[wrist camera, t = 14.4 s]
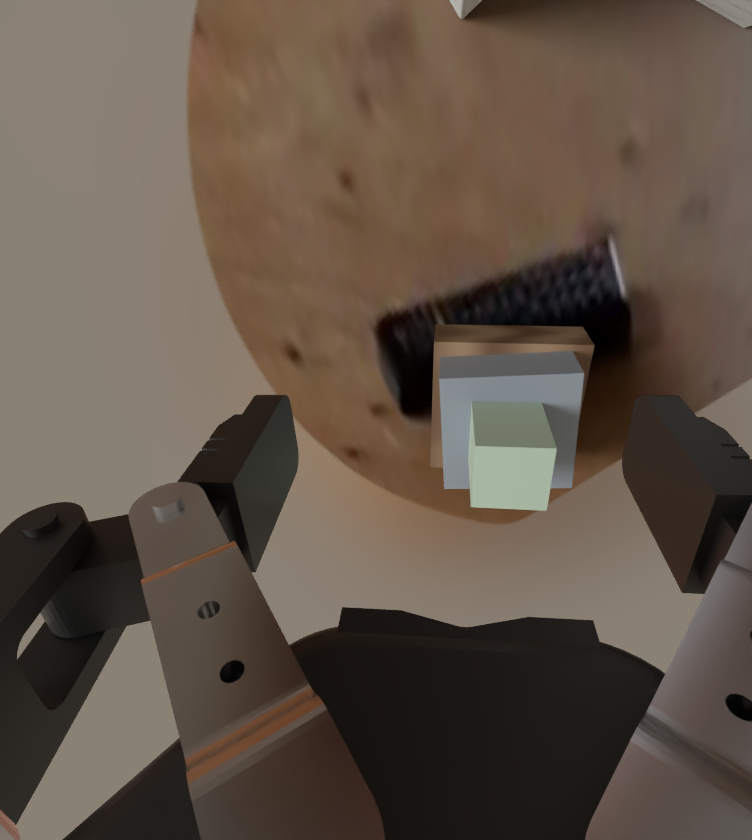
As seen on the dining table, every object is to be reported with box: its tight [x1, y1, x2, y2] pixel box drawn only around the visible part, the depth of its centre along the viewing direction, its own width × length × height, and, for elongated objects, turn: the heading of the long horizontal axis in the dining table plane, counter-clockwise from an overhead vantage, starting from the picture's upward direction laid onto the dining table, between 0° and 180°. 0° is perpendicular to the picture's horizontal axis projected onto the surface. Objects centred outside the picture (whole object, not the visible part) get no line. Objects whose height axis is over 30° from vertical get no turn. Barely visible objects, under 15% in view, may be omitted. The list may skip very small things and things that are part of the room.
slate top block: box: [439, 351, 584, 489], centre depth 40 cm, size 10×10×4 cm
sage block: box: [468, 401, 557, 511], centre depth 36 cm, size 5×5×6 cm
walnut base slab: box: [430, 324, 594, 468], centre depth 44 cm, size 12×12×4 cm
